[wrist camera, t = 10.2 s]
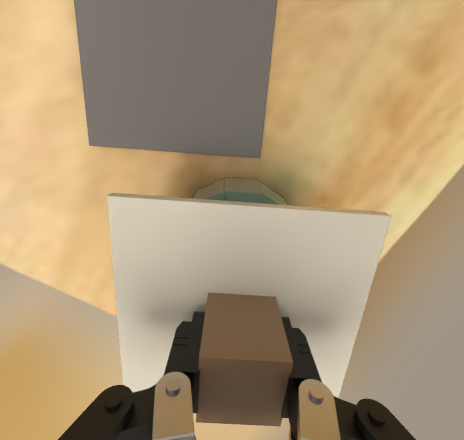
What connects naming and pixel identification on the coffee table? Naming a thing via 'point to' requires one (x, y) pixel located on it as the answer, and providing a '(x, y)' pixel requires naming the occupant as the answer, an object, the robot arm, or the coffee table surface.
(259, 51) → the rubber mat
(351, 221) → the white square lid
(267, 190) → the teal pet bowl
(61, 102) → the coffee table surface
